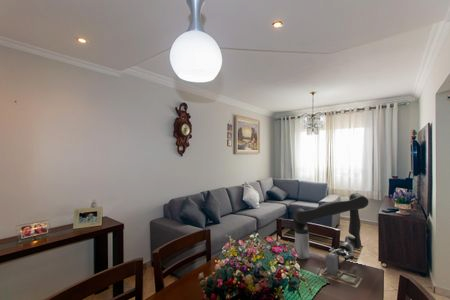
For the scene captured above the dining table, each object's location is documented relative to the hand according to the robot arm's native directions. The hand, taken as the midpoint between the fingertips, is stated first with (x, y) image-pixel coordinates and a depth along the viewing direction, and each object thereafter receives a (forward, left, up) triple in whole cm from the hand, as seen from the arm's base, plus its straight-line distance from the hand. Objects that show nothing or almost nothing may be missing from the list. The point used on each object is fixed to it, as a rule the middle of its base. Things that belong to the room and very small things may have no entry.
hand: (337, 257), depth 145 cm
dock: (+4, -10, -7) cm, 13 cm away
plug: (0, -10, -7) cm, 12 cm away
